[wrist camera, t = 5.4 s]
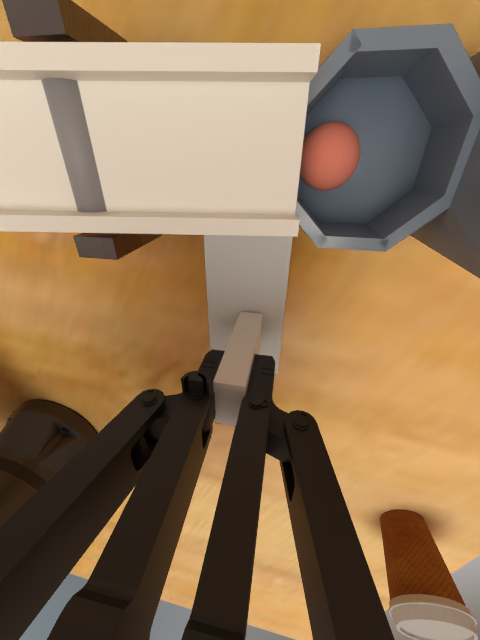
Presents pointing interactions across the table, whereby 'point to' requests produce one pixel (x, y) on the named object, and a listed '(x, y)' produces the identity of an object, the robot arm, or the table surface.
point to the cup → (400, 143)
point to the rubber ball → (329, 156)
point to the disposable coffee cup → (421, 582)
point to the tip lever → (164, 155)
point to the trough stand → (72, 26)
